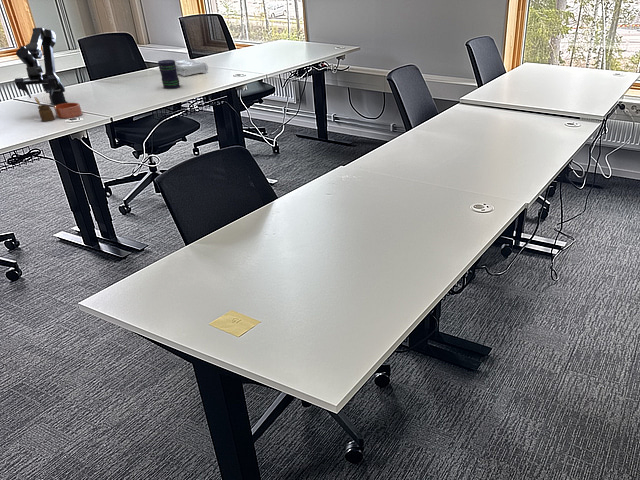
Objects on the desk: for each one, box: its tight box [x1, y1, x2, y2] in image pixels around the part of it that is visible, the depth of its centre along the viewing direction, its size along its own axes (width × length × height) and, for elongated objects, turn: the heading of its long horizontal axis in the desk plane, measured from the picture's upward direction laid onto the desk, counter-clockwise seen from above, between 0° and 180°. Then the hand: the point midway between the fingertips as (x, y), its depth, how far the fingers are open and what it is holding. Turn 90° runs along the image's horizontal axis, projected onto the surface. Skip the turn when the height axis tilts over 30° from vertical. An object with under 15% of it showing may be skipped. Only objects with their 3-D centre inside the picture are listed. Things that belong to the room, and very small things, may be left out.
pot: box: [53, 102, 83, 119], centre depth 294 cm, size 12×12×5 cm
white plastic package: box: [174, 58, 209, 77], centre depth 383 cm, size 19×28×8 cm
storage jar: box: [157, 59, 181, 90], centre depth 344 cm, size 10×10×15 cm
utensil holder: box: [33, 96, 55, 122], centre depth 285 cm, size 6×6×12 cm
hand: (40, 96), depth 285 cm, fingers open, 9 cm apart
